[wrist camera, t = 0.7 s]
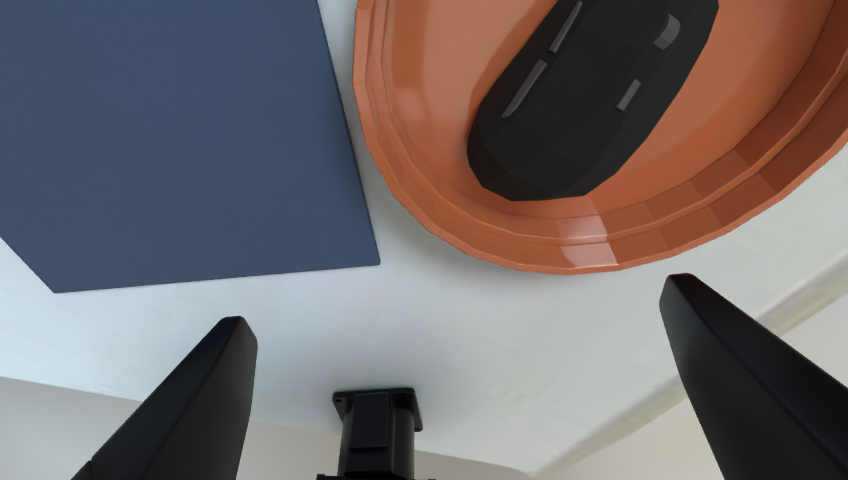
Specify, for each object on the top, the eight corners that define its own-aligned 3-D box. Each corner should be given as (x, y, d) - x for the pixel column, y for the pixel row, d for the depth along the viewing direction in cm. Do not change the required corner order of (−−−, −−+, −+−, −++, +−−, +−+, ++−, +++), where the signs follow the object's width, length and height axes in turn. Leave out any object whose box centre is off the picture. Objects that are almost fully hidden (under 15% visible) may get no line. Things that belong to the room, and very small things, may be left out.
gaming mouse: (820, -92, 16) (909, -69, 13) (543, 206, 25) (560, 260, 22) (696, -218, 14) (769, -224, 11) (440, 156, 23) (444, 208, 20)
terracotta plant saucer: (756, 209, 26) (796, 256, 23) (399, 241, 27) (397, 289, 24) (1017, -359, 13) (1178, -404, 10) (303, -245, 14) (276, -258, 11)
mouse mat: (380, 260, 28) (380, 265, 28) (57, 288, 29) (53, 293, 29) (243, -304, 13) (239, -307, 13) (-397, -196, 14) (-414, -196, 14)
